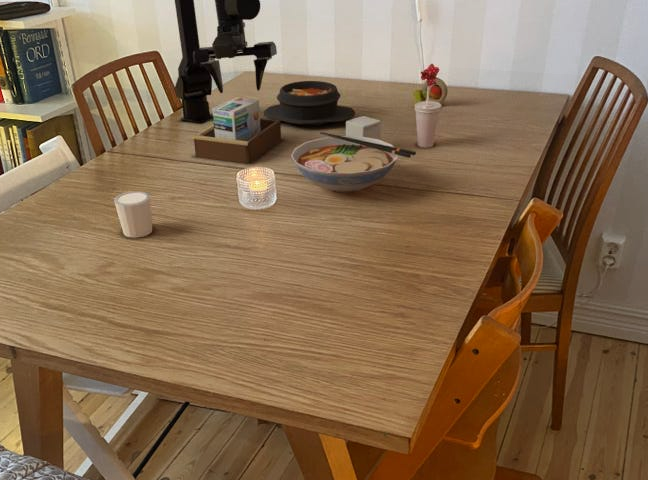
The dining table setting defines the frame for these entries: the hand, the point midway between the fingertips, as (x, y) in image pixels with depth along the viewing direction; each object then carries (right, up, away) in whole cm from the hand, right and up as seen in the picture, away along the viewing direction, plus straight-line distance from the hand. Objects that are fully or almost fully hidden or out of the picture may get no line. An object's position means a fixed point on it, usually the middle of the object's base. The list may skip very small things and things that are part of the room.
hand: (239, 91), depth 174 cm
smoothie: (+45, -11, +6) cm, 47 cm away
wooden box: (-1, -11, +8) cm, 14 cm away
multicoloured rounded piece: (+51, +8, +32) cm, 61 cm away
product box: (+29, -13, +4) cm, 32 cm away
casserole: (+17, +1, +25) cm, 30 cm away
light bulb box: (-1, -11, +8) cm, 14 cm away
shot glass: (-17, -38, -29) cm, 51 cm away
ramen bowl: (+24, -26, -14) cm, 38 cm away
